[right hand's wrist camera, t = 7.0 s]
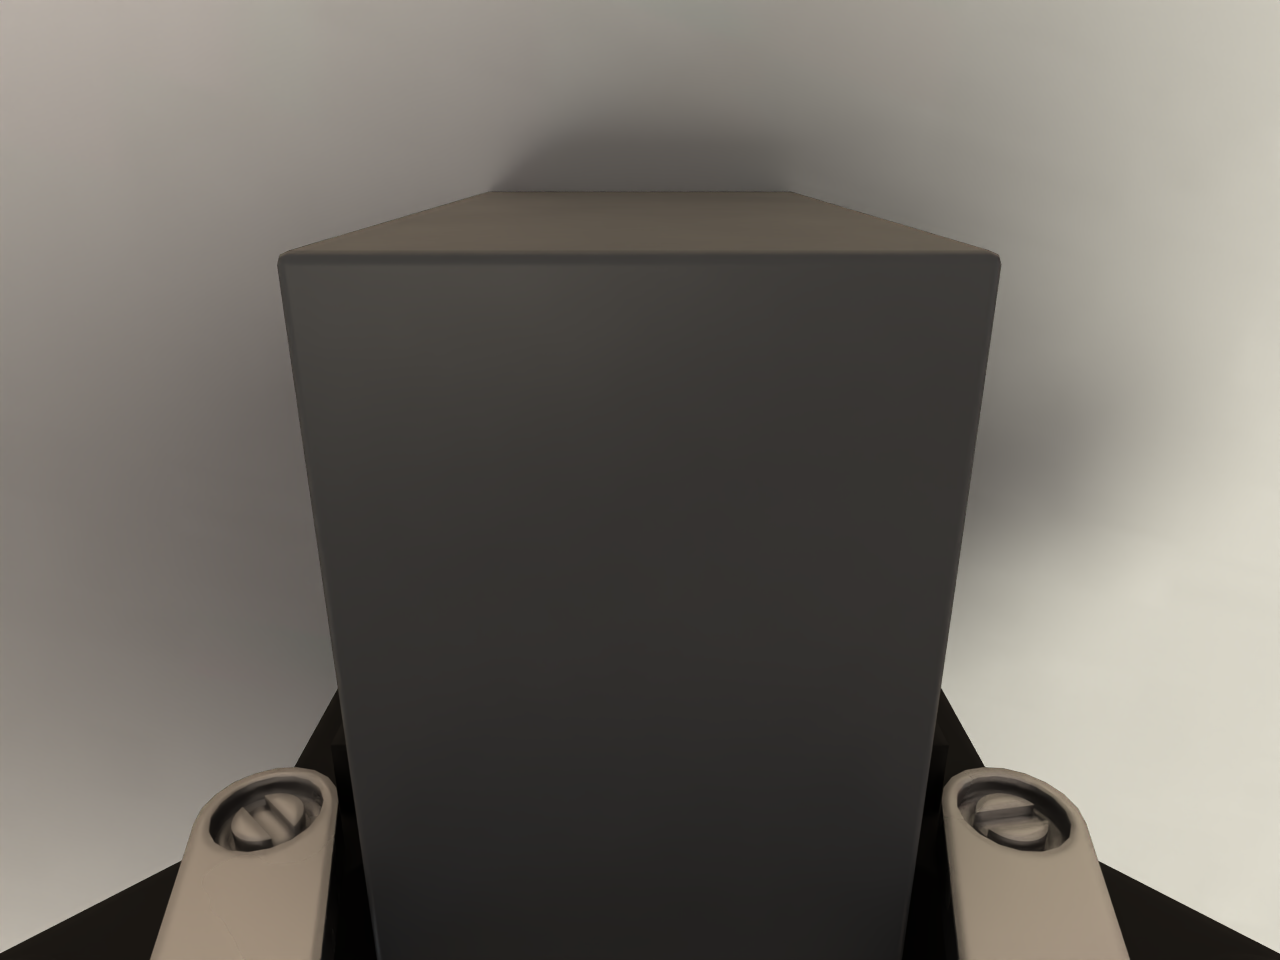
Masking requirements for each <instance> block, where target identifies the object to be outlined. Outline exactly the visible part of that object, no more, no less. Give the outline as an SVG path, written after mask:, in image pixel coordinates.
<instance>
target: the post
mask: <svg viewBox="0 0 1280 960" xmlns="http://www.w3.org/2000/svg"><path fill="white" fill-rule="evenodd" d="M277 267H278V274H279V281H280V288H281V295H282V302H283V309H284V316H285V323H286V330H287V337H288V344H289V351H290V357H291V364H292V371H293V378H294V385H295V392H296V399H297V406H298V413H299V420H300V427H301V434H302V441H303V448H304V455H305V462H306V469H307V476H308V483H309V490H310V497H311V504H312V511H313V518H314V525H315V532H316V538H317V545H318V552H319V559H320V566H321V573H322V580H323V587H324V594H325V601H326V608H327V615H328V622H329V629H330V636H331V643H332V650H333V657H334V664H335V671H336V678H337V685H338V692H339V699H340V706H341V713H342V719H343V726H344V733H345V740H346V747H347V754H348V761H349V768H350V775H351V782H352V789H353V796H354V803H355V810H356V817H357V824H358V831H359V838H360V845H361V852H362V859H363V866H364V873H365V880H366V887H367V894H368V900H369V907H370V914H371V921H372V928H373V935H374V942H375V949H376V956H377V960H902V956H903V949H904V942H905V935H906V928H907V921H908V914H909V907H910V900H911V893H912V886H913V879H914V872H915V865H916V858H917V851H918V844H919V837H920V830H921V823H922V816H923V809H924V802H925V795H926V788H927V781H928V774H929V767H930V760H931V753H932V746H933V739H934V732H935V725H936V718H937V711H938V704H939V697H940V690H941V683H942V676H943V669H944V662H945V655H946V648H947V641H948V634H949V627H950V620H951V613H952V606H953V599H954V592H955V585H956V578H957V571H958V564H959V557H960V550H961V543H962V536H963V529H964V522H965V515H966V508H967V501H968V494H969V487H970V480H971V473H972V466H973V459H974V452H975V445H976V438H977V431H978V424H979V417H980V410H981V403H982V396H983V389H984V382H985V375H986V368H987V361H988V354H989V347H990V340H991V333H992V326H993V319H994V312H995V305H996V298H997V291H998V284H999V277H1000V270H1001V262H1000V257H999V255H998V254H996V253H994V252H991V251H989V250H986V249H982V248H979V247H976V246H972V245H969V244H966V243H962V242H959V241H955V240H952V239H949V238H945V237H942V236H939V235H935V234H932V233H928V232H925V231H922V230H918V229H915V228H912V227H908V226H905V225H901V224H898V223H895V222H891V221H888V220H885V219H881V218H878V217H874V216H871V215H868V214H864V213H861V212H858V211H854V210H851V209H847V208H844V207H841V206H837V205H834V204H831V203H827V202H824V201H820V200H817V199H814V198H810V197H807V196H804V195H800V194H797V193H793V192H486V193H483V194H479V195H476V196H473V197H469V198H466V199H462V200H459V201H456V202H452V203H449V204H445V205H442V206H439V207H435V208H432V209H428V210H425V211H422V212H418V213H415V214H411V215H408V216H405V217H401V218H398V219H394V220H391V221H388V222H384V223H381V224H378V225H374V226H371V227H367V228H364V229H361V230H357V231H354V232H350V233H347V234H344V235H340V236H337V237H333V238H330V239H327V240H323V241H320V242H316V243H313V244H310V245H306V246H303V247H299V248H296V249H293V250H289V251H287V252H285V253H283V254H280V256H279V259H278V264H277Z"/></svg>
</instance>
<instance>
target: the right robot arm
mask: <svg viewBox="0 0 1280 960" xmlns="http://www.w3.org/2000/svg"><path fill="white" fill-rule="evenodd" d="M0 960H377V956H376V949H375V942H374V935H373V928H372V921H371V914H370V907H369V900H368V894H367V887H366V880H365V873H364V866H363V859H362V852H361V845H360V838H359V831H358V824H357V817H356V810H355V803H354V796H353V789H352V782H351V775H350V768H349V761H348V754H347V747H346V740H345V733H344V726H343V719H342V713H341V706H340V699H339V692H338V689H337V691H336V693H335V695H334V697H333V698H332V700H331V702H330V704H329V706H328V707H327V709H326V711H325V713H324V715H323V716H322V718H321V720H320V722H319V724H318V725H317V727H316V729H315V731H314V733H313V734H312V736H311V738H310V740H309V742H308V743H307V745H306V747H305V749H304V751H303V752H302V754H301V756H300V758H299V760H298V761H297V763H296V765H295V767H292V768H276V769H272V770H267V771H263V772H259V773H255V774H253V775H250V776H248V777H246V778H243V779H241V780H239V781H236V782H234V783H233V784H231V785H229V786H228V787H226V788H225V789H223V790H222V791H220V792H219V793H217V794H216V795H215V796H214V797H213V798H212V799H211V800H210V801H209V802H208V803H207V804H206V805H205V806H204V807H203V808H202V809H201V811H200V813H199V815H198V817H197V818H196V820H195V822H194V824H193V827H192V831H191V834H190V837H189V840H188V843H187V846H186V849H185V852H184V855H183V859H182V861H180V862H178V863H176V864H174V865H172V866H170V867H168V868H166V869H164V870H162V871H160V872H158V873H156V874H155V875H153V876H151V877H149V878H147V879H145V880H143V881H141V882H139V883H137V884H135V885H133V886H131V887H129V888H127V889H125V890H123V891H121V892H119V893H117V894H115V895H114V896H112V897H110V898H108V899H106V900H104V901H102V902H100V903H98V904H96V905H94V906H92V907H90V908H88V909H86V910H84V911H82V912H80V913H78V914H76V915H74V916H72V917H71V918H69V919H67V920H65V921H63V922H61V923H59V924H57V925H55V926H53V927H51V928H49V929H47V930H45V931H43V932H41V933H39V934H37V935H35V936H33V937H31V938H30V939H28V940H26V941H24V942H22V943H20V944H18V945H16V946H14V947H12V948H10V949H8V950H6V951H4V952H2V953H0ZM902 960H1280V954H1279V953H1277V952H1275V951H1273V950H1271V949H1270V948H1268V947H1266V946H1264V945H1262V944H1260V943H1258V942H1256V941H1254V940H1252V939H1250V938H1248V937H1246V936H1244V935H1242V934H1240V933H1238V932H1236V931H1234V930H1232V929H1230V928H1228V927H1227V926H1225V925H1223V924H1221V923H1219V922H1217V921H1215V920H1213V919H1211V918H1209V917H1207V916H1205V915H1203V914H1201V913H1199V912H1197V911H1195V910H1193V909H1191V908H1189V907H1187V906H1185V905H1184V904H1182V903H1180V902H1178V901H1176V900H1174V899H1172V898H1170V897H1168V896H1166V895H1164V894H1162V893H1160V892H1158V891H1156V890H1154V889H1152V888H1150V887H1148V886H1146V885H1144V884H1143V883H1141V882H1139V881H1137V880H1135V879H1133V878H1131V877H1129V876H1127V875H1125V874H1123V873H1121V872H1119V871H1117V870H1115V869H1113V868H1111V867H1109V866H1107V865H1105V864H1103V863H1101V862H1100V861H1098V859H1097V855H1096V852H1095V849H1094V846H1093V843H1092V840H1091V837H1090V834H1089V831H1088V827H1087V824H1086V822H1085V820H1084V818H1083V817H1082V815H1081V813H1080V811H1079V809H1078V808H1077V807H1076V806H1075V805H1074V804H1073V803H1072V802H1071V801H1070V800H1069V799H1068V798H1067V797H1066V796H1065V795H1064V794H1063V793H1061V792H1060V791H1058V790H1057V789H1055V788H1054V787H1052V786H1051V785H1049V784H1047V783H1046V782H1044V781H1041V780H1039V779H1037V778H1034V777H1032V776H1030V775H1027V774H1025V773H1021V772H1017V771H1013V770H1008V769H1004V768H988V767H985V766H984V764H983V763H982V761H981V759H980V757H979V755H978V754H977V752H976V750H975V748H974V746H973V745H972V743H971V741H970V739H969V737H968V736H967V734H966V732H965V730H964V728H963V727H962V725H961V723H960V721H959V719H958V718H957V716H956V714H955V712H954V710H953V709H952V707H951V705H950V703H949V701H948V700H947V698H946V696H945V694H944V692H943V691H942V689H941V690H940V697H939V704H938V711H937V718H936V725H935V732H934V739H933V746H932V753H931V760H930V767H929V774H928V781H927V788H926V795H925V802H924V809H923V816H922V823H921V830H920V837H919V844H918V851H917V858H916V865H915V872H914V879H913V886H912V893H911V900H910V907H909V914H908V921H907V928H906V935H905V942H904V949H903V956H902Z"/></svg>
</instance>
